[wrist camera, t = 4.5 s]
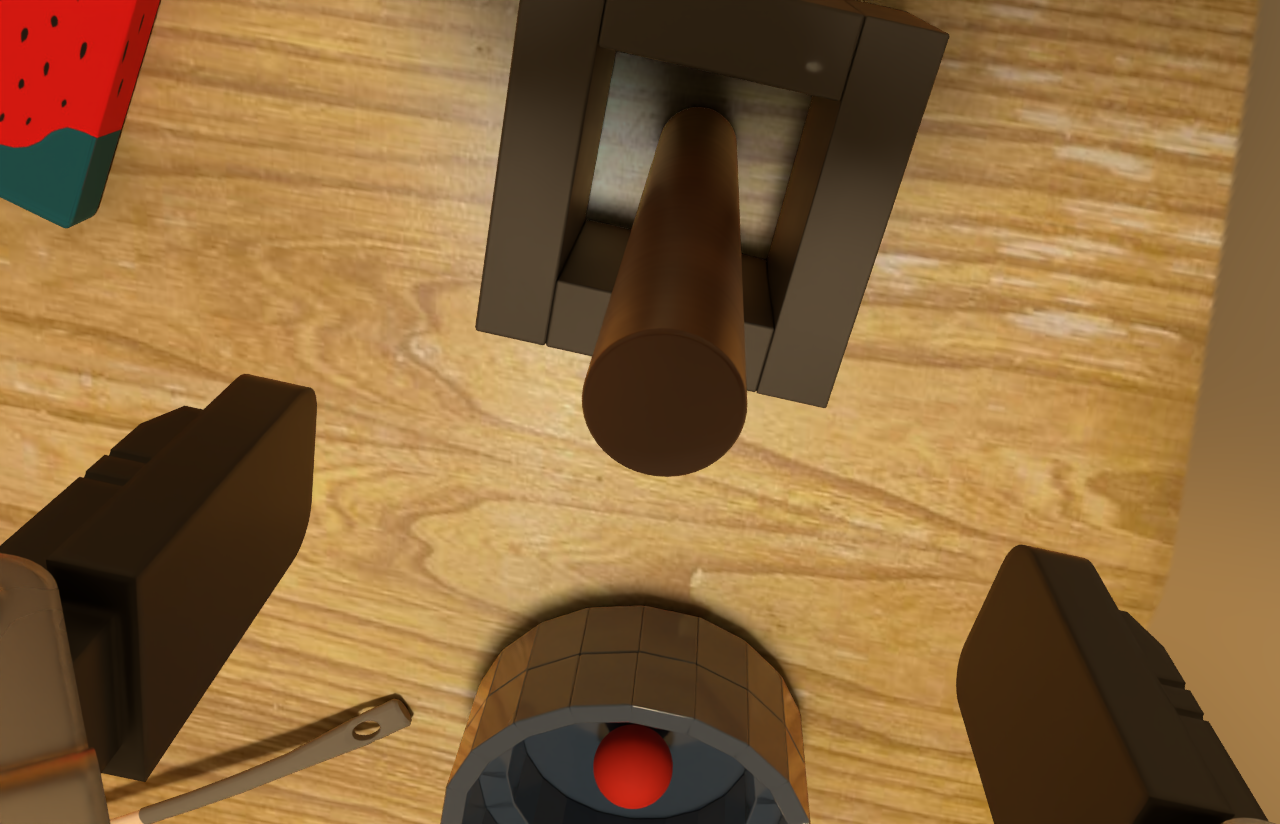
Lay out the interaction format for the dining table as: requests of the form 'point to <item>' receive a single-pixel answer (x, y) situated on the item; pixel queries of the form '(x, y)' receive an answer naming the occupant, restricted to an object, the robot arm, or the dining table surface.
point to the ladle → (280, 764)
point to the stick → (676, 312)
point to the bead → (633, 766)
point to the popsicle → (65, 98)
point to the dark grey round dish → (622, 695)
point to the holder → (816, 193)
